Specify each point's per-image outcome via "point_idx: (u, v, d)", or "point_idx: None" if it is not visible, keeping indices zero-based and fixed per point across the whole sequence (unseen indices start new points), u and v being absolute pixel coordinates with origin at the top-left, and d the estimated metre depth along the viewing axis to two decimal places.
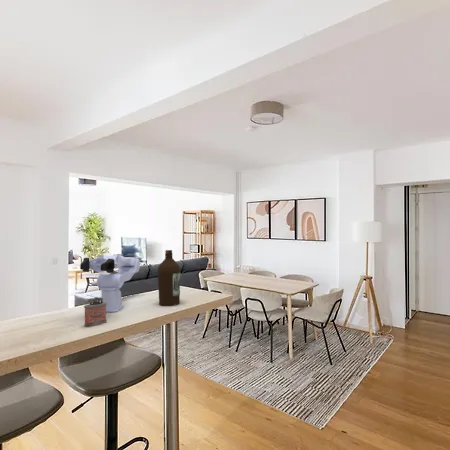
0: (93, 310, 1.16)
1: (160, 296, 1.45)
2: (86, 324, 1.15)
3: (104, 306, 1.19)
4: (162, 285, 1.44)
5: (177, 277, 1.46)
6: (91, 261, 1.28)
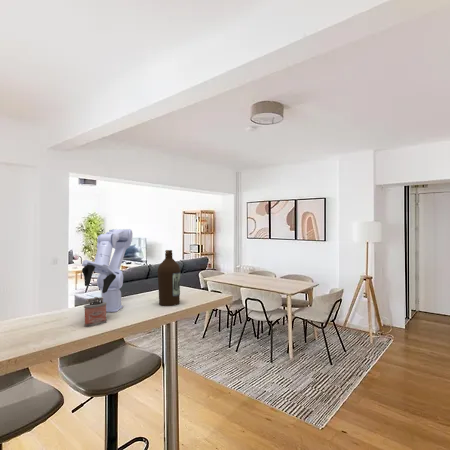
0: (93, 310, 1.16)
1: (160, 296, 1.45)
2: (86, 324, 1.15)
3: (104, 306, 1.19)
4: (162, 285, 1.44)
5: (177, 277, 1.46)
6: (94, 264, 1.22)
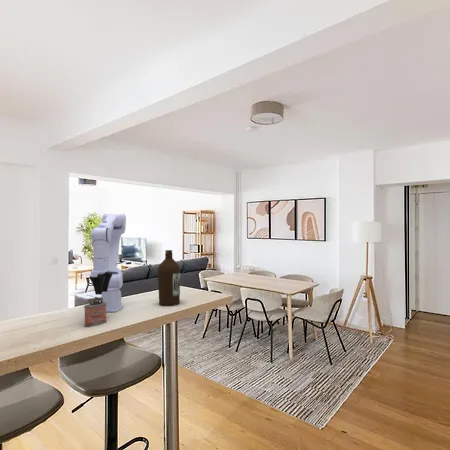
0: (93, 310, 1.16)
1: (160, 296, 1.45)
2: (86, 324, 1.15)
3: (104, 306, 1.19)
4: (162, 285, 1.44)
5: (177, 277, 1.46)
6: (100, 272, 1.20)
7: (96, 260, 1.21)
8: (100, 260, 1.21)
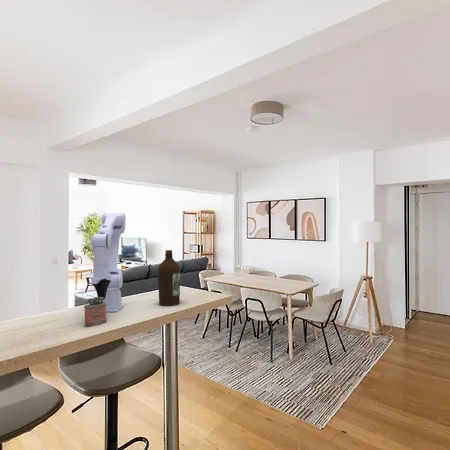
0: (93, 310, 1.16)
1: (160, 296, 1.45)
2: (86, 324, 1.15)
3: (104, 306, 1.19)
4: (162, 285, 1.44)
5: (177, 277, 1.46)
6: (101, 279, 1.21)
7: (96, 267, 1.21)
8: (100, 267, 1.21)
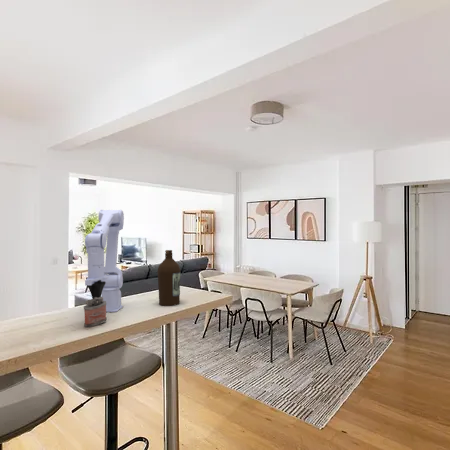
0: (93, 311, 1.15)
1: (160, 296, 1.45)
2: (86, 324, 1.15)
3: (104, 306, 1.18)
4: (162, 285, 1.44)
5: (177, 277, 1.46)
6: (95, 280, 1.15)
7: (91, 267, 1.16)
8: (95, 267, 1.16)
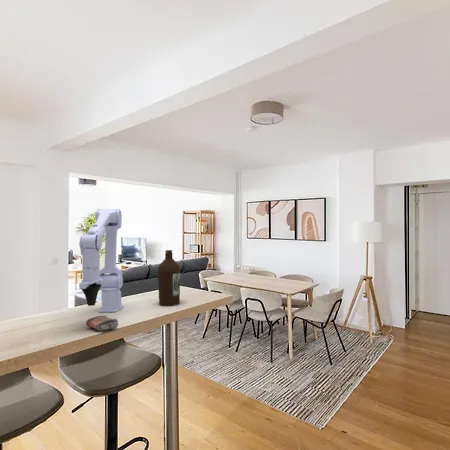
0: None
1: (160, 296, 1.45)
2: (88, 325, 1.13)
3: None
4: (162, 285, 1.44)
5: (177, 277, 1.46)
6: (90, 283, 1.11)
7: (85, 270, 1.12)
8: (89, 270, 1.12)
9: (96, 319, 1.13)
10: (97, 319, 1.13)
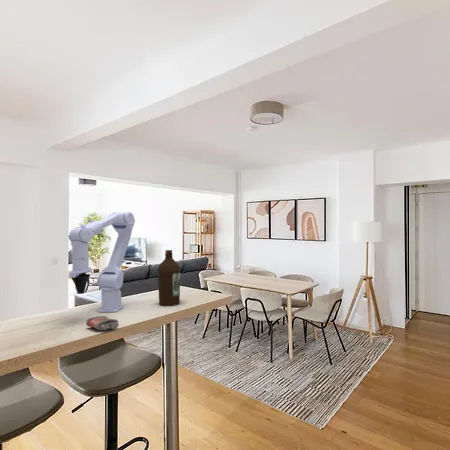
0: None
1: (160, 296, 1.45)
2: (88, 325, 1.13)
3: None
4: (162, 285, 1.44)
5: (177, 277, 1.46)
6: (79, 273, 1.20)
7: (75, 260, 1.21)
8: (79, 260, 1.21)
9: (96, 318, 1.14)
10: (97, 319, 1.13)
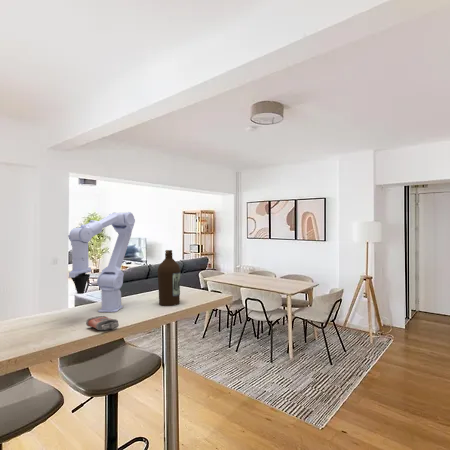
0: None
1: (160, 296, 1.45)
2: (88, 325, 1.13)
3: None
4: (162, 285, 1.44)
5: (177, 277, 1.46)
6: (79, 273, 1.20)
7: (75, 260, 1.21)
8: (79, 260, 1.21)
9: (96, 318, 1.14)
10: (97, 319, 1.13)
